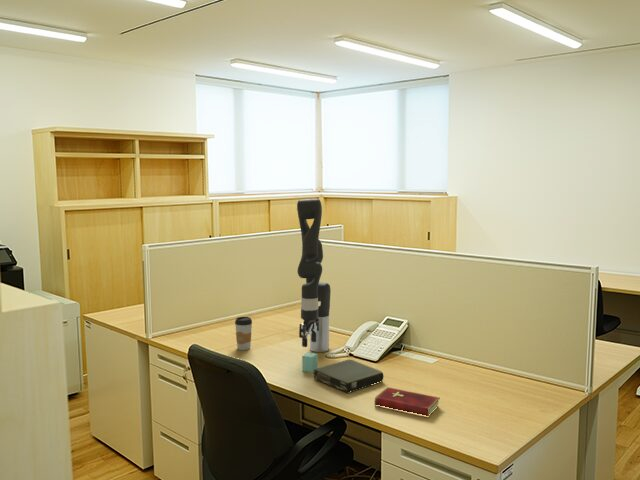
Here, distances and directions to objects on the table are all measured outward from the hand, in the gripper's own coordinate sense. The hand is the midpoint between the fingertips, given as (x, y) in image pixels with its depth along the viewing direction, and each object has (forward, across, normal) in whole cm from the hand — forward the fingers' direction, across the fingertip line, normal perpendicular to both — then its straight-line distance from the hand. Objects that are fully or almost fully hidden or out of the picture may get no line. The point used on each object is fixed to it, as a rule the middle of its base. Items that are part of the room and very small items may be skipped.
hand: (309, 344), depth 251 cm
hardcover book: (+13, +18, +50) cm, 55 cm away
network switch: (+12, +3, +20) cm, 24 cm away
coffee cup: (+12, -13, -43) cm, 46 cm away
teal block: (+12, 0, 0) cm, 12 cm away
